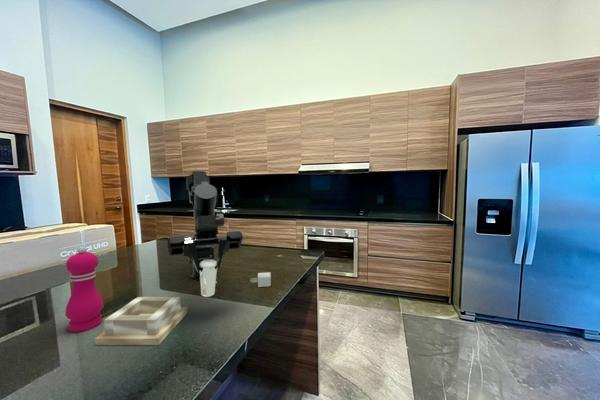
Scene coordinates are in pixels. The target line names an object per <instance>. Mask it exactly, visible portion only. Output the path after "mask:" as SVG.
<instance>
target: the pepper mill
mask: <svg viewBox="0 0 600 400" xmlns="http://www.w3.org/2000/svg"><path fill="white" fill-rule="evenodd" d="M76 252H77V253H75V254H73V255H71V256H70V257H68V259H67V260H66V263H65V266H66V267H65V268H66V270H67V271H68V272H69V273H70V274H69V281H70V282H71V284H72V292H71V295H70V297H69V299H68V302H67V303H66V307H65V311H64V312H65V317H66V318H67V319H69V321H68V330H69V332H72V333H80V332H85V331H88V330H91V329H93V328H96V327H97V326H99V325H100V324H101V323H102V321H103V319H102V313H101V311H102V310H103V308H104V300H103V297H102V296H101V294H100V292H99V291H98V289H97V288H96V283H95V277H96V276H97V270H96V267H98V265H99V258H98V257H97V255H96V254H95V253H93V252H88V250H87V247H85V246H79V247H78V248H77V251H76Z"/></svg>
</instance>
